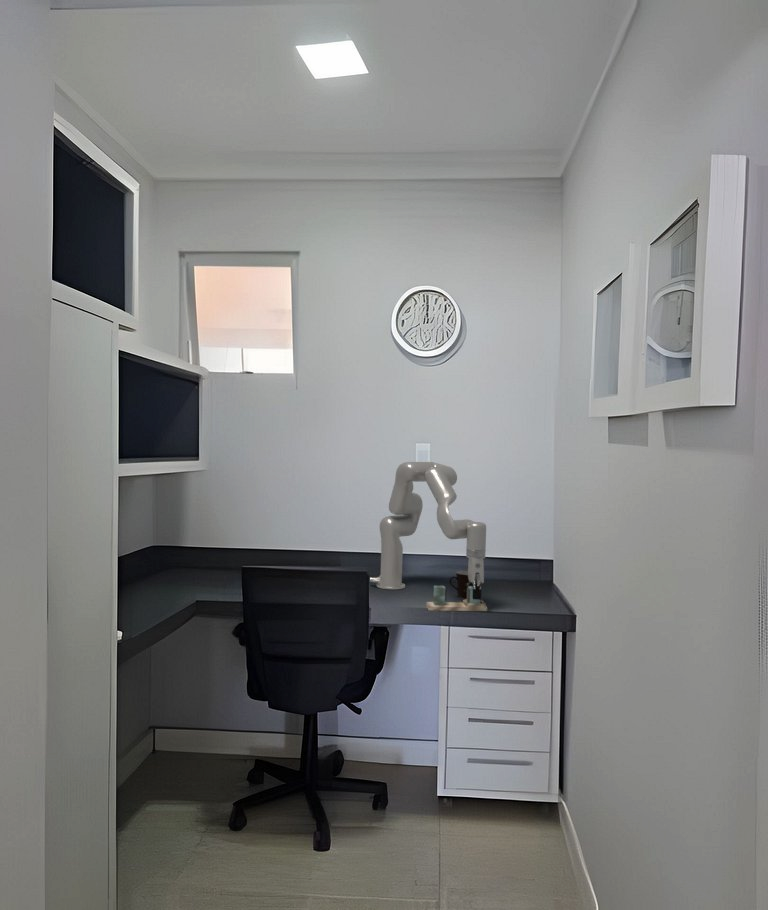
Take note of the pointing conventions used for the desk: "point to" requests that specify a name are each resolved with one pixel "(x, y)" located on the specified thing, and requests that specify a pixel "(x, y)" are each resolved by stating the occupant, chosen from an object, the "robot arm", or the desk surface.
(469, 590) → the pale green block
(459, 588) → the coffee mug
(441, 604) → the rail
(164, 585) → the desk surface
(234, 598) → the desk surface
